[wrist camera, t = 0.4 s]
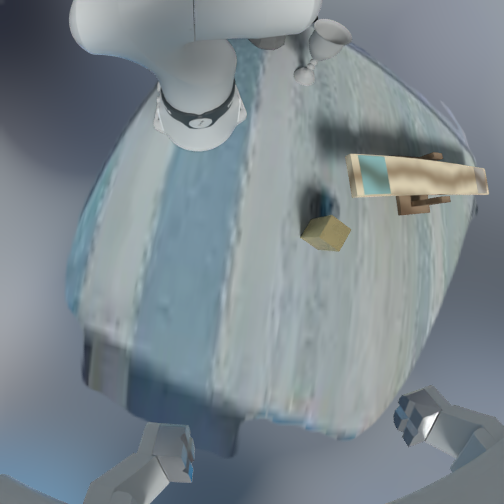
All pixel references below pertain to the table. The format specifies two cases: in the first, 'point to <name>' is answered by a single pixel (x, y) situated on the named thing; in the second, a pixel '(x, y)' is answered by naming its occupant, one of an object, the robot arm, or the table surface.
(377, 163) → the balance beam
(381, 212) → the table surface
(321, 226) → the tall olive textured block
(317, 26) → the chalice
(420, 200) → the beam stand
